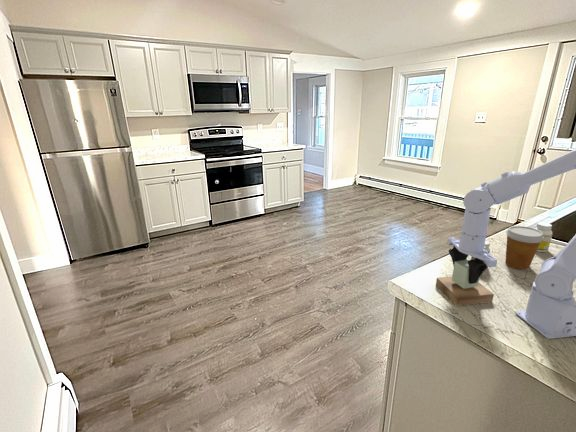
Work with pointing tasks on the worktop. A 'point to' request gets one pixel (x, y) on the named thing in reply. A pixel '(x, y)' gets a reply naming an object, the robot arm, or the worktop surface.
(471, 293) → the walnut base
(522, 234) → the disposable coffee cup
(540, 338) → the worktop surface
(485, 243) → the pill bottle
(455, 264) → the sage block
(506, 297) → the worktop surface
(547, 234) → the supplement bottle
